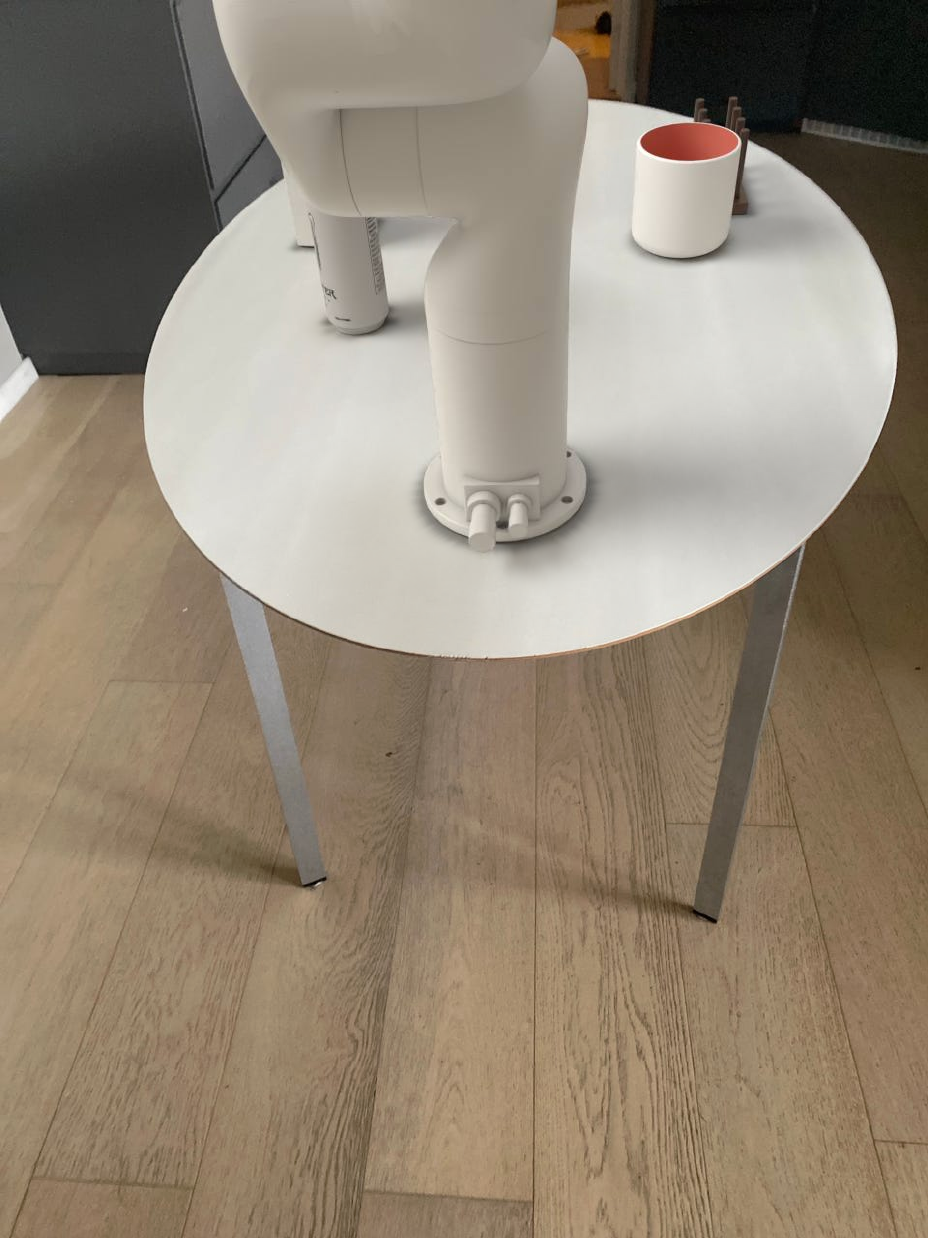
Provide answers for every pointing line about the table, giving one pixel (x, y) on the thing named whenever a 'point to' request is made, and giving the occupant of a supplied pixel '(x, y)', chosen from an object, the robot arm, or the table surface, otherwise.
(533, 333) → the robot arm
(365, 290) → the energy drink can
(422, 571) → the table surface
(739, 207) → the dish rack
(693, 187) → the cup
